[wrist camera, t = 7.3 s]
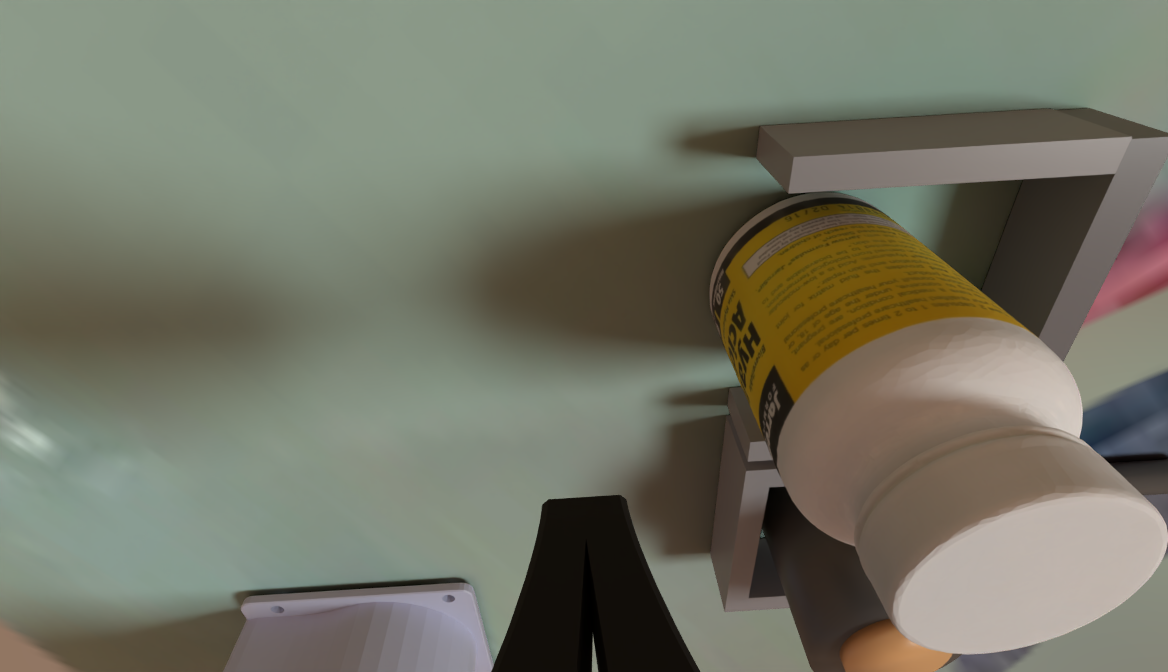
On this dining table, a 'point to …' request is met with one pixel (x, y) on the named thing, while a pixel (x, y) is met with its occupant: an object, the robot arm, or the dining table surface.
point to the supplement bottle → (926, 430)
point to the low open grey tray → (1014, 282)
